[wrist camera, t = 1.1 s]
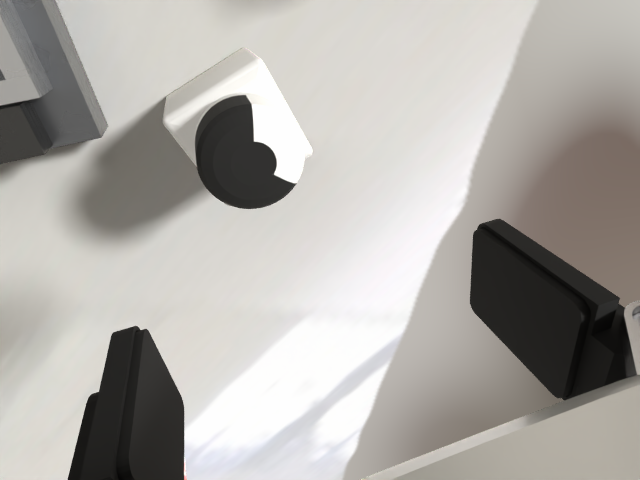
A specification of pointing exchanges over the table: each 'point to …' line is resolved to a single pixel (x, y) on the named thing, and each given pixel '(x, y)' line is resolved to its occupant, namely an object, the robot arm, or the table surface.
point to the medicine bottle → (238, 132)
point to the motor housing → (42, 83)
